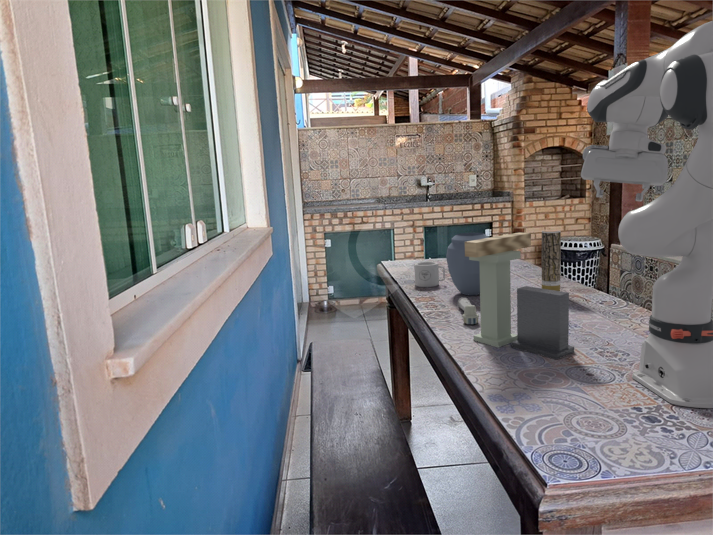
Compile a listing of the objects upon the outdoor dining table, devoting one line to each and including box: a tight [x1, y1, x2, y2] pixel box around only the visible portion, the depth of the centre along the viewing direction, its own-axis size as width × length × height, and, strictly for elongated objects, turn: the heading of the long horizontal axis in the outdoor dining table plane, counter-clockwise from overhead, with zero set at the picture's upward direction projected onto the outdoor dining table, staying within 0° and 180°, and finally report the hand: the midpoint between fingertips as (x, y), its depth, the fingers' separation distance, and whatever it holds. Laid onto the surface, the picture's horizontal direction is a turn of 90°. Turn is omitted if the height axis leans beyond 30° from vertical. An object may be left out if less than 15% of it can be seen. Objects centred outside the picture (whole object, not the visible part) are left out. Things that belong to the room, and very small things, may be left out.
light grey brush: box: [457, 297, 480, 325], centre depth 178 cm, size 5×7×25 cm
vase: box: [445, 232, 490, 296], centre depth 208 cm, size 20×20×24 cm
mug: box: [413, 260, 446, 288], centre depth 230 cm, size 14×11×10 cm
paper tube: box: [541, 229, 562, 291], centre depth 198 cm, size 7×7×25 cm
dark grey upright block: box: [510, 285, 575, 360], centre depth 138 cm, size 8×14×16 cm, turn 36°
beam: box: [465, 231, 532, 258], centre depth 146 cm, size 24×4×4 cm, turn 126°
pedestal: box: [469, 250, 522, 348], centre depth 148 cm, size 10×10×26 cm
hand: (618, 198), depth 135 cm, fingers open, 8 cm apart
